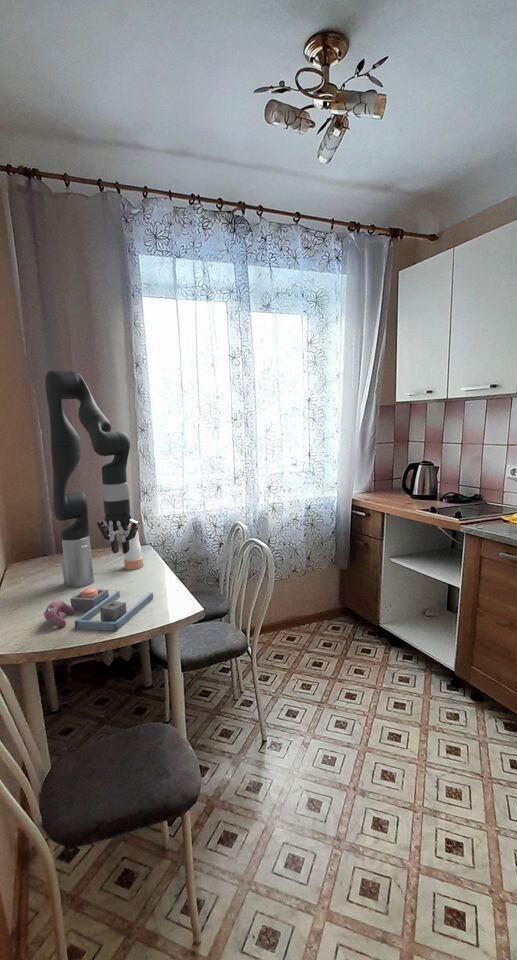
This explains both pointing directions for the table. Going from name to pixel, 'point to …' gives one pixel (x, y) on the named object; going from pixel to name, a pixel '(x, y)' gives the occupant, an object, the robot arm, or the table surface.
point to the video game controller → (58, 612)
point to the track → (113, 626)
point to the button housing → (88, 601)
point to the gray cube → (112, 611)
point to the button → (89, 593)
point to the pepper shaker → (133, 553)
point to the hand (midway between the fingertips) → (120, 552)
